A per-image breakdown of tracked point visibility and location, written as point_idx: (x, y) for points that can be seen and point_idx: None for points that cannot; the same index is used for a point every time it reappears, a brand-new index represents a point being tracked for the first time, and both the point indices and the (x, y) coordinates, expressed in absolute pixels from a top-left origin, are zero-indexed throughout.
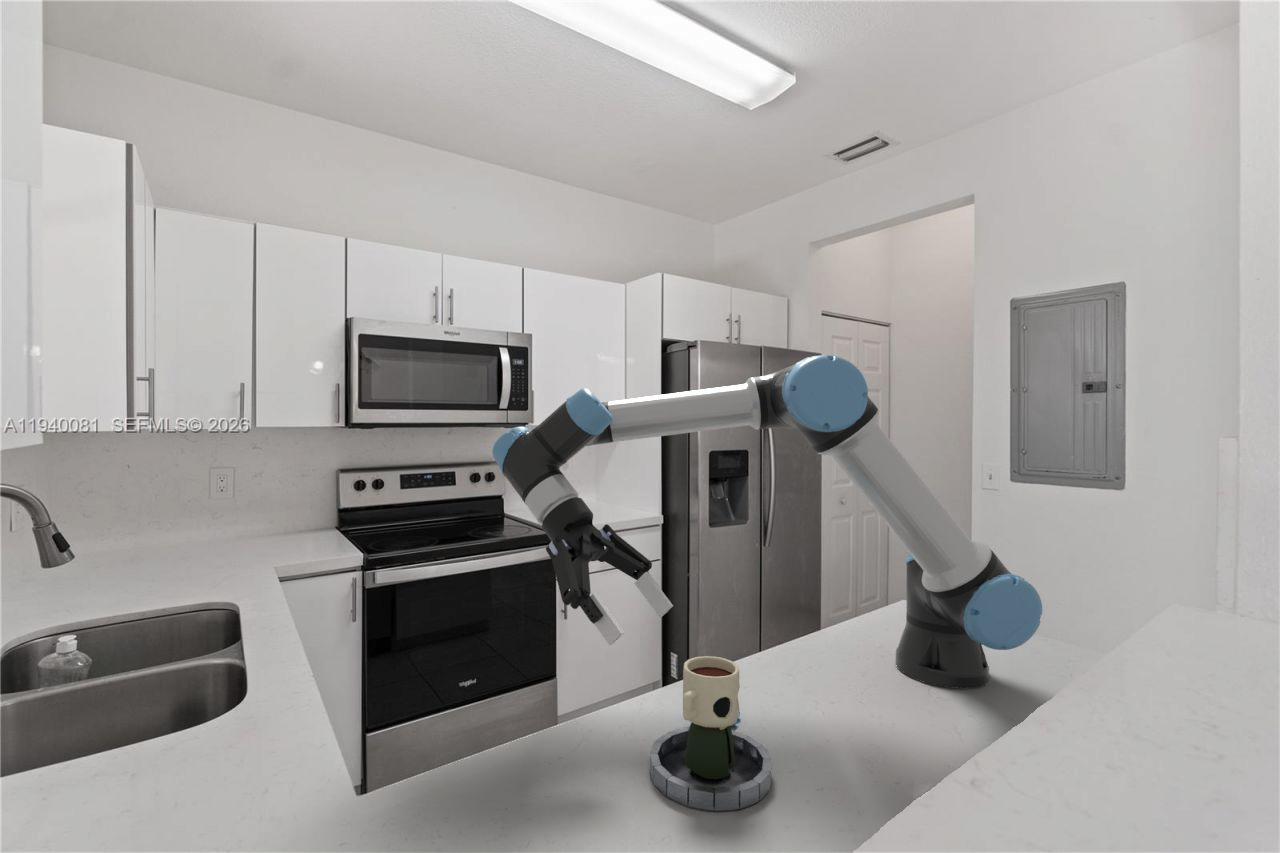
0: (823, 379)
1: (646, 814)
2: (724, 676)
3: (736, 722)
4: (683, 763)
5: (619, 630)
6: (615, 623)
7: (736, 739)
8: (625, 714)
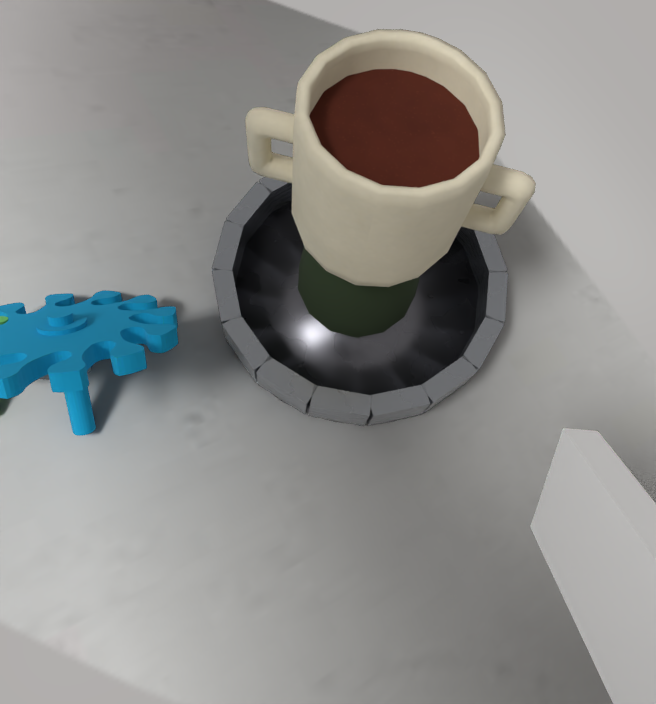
0: None
1: (558, 353)
2: (459, 53)
3: (109, 291)
4: (364, 347)
5: (607, 443)
6: (621, 477)
7: (239, 247)
8: (174, 630)
